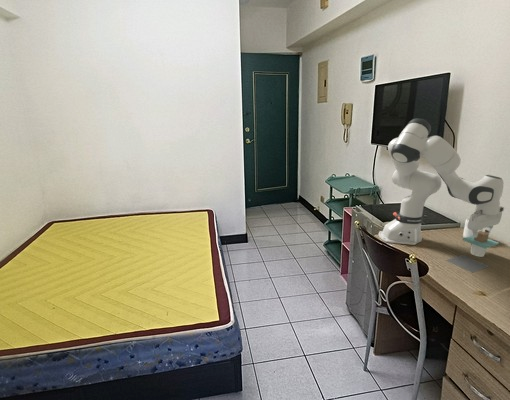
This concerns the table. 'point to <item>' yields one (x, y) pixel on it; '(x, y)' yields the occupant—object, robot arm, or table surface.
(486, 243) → the lid
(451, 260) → the mat
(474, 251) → the shot glass
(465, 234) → the mug
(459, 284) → the table surface
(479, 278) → the table surface
